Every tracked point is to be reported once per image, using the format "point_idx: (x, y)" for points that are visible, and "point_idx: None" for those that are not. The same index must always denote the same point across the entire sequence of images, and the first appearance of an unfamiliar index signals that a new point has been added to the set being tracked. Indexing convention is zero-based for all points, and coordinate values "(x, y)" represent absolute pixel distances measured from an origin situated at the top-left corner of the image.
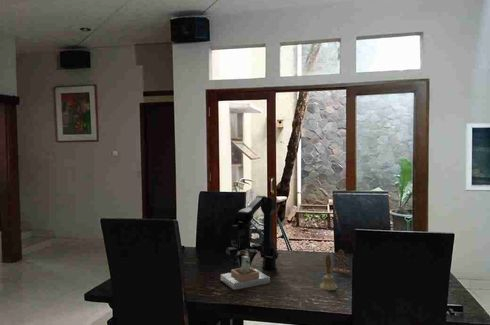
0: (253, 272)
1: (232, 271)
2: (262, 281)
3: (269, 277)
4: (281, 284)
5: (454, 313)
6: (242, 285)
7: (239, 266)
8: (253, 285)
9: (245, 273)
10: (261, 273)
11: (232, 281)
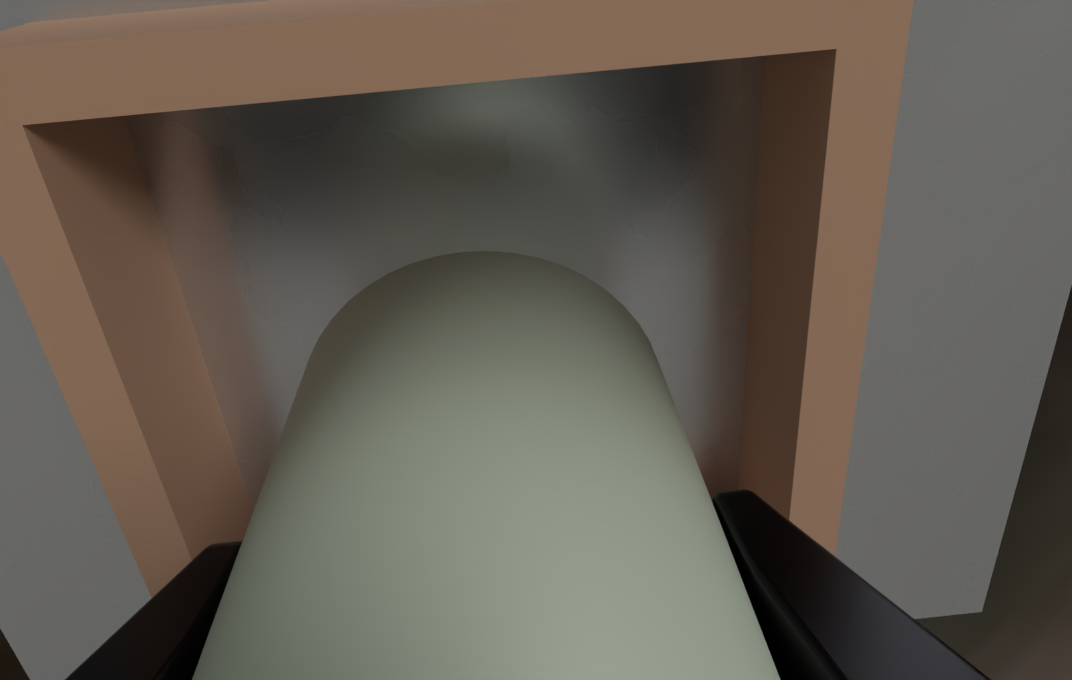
0: (769, 390)
1: (2, 198)
2: None
3: (967, 610)
4: (1034, 623)
5: None
6: None
7: (210, 553)
8: None
9: (585, 129)
10: (1016, 321)
11: (25, 602)
